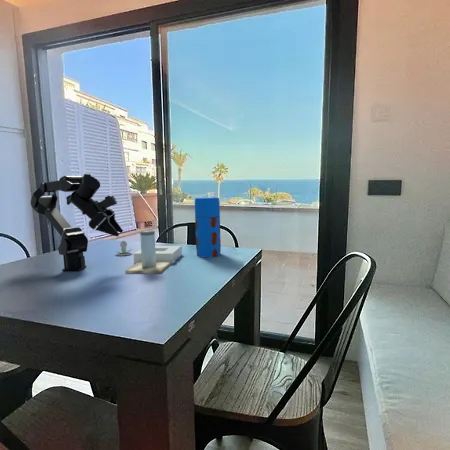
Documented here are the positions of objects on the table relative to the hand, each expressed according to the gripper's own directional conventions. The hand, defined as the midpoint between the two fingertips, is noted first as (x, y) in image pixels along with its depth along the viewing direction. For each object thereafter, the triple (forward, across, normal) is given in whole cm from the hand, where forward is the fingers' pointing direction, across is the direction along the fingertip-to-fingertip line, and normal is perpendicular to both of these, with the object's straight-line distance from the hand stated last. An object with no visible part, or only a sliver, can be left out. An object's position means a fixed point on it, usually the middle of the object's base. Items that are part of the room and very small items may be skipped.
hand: (120, 233), depth 120 cm
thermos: (+34, +17, -14) cm, 41 cm away
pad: (+16, -1, +3) cm, 17 cm away
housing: (+19, +15, 0) cm, 24 cm away
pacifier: (+8, +28, +12) cm, 31 cm away
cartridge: (+16, -1, +2) cm, 16 cm away
